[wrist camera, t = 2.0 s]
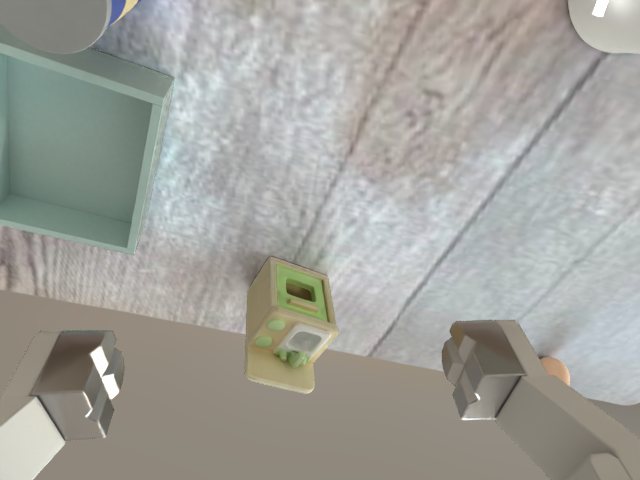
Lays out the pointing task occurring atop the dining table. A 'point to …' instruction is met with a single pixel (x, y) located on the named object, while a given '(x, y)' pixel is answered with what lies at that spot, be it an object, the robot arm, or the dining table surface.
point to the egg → (556, 369)
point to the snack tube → (61, 21)
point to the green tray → (78, 143)
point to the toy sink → (287, 325)
